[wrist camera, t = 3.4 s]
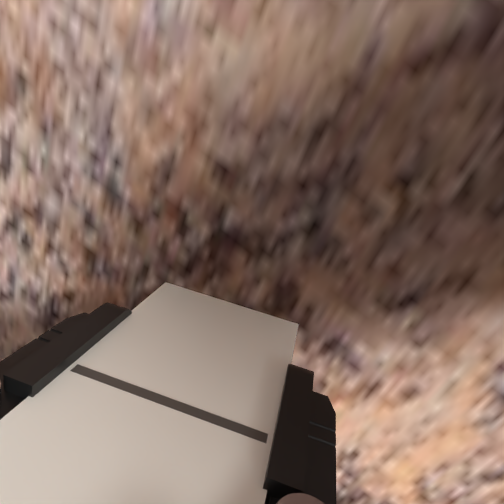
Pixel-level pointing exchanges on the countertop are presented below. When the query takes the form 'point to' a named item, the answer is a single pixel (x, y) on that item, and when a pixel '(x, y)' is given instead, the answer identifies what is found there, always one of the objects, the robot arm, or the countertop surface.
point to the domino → (156, 410)
